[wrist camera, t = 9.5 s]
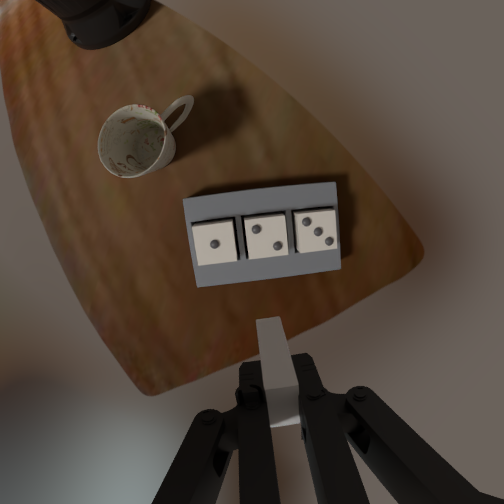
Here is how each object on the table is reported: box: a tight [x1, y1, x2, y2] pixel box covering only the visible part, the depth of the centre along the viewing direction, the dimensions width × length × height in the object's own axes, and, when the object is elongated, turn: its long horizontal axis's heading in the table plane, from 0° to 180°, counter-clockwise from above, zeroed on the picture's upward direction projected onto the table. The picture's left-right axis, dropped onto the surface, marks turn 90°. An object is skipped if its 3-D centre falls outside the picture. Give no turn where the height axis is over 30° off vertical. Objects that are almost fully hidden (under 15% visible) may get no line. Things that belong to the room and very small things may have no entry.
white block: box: [192, 218, 237, 266], centre depth 37 cm, size 5×5×4 cm
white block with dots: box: [292, 207, 337, 253], centre depth 37 cm, size 5×5×4 cm
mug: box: [98, 95, 194, 178], centre depth 32 cm, size 8×13×10 cm, turn 136°
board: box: [183, 182, 341, 287], centre depth 39 cm, size 12×20×3 cm, turn 97°
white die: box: [244, 212, 289, 260], centre depth 37 cm, size 5×5×4 cm
